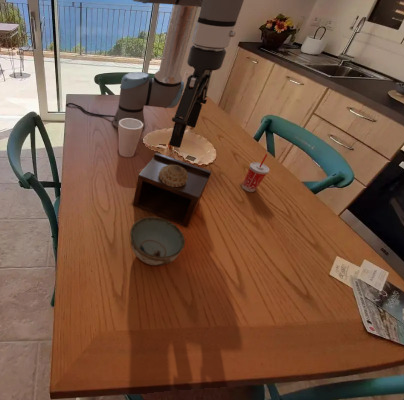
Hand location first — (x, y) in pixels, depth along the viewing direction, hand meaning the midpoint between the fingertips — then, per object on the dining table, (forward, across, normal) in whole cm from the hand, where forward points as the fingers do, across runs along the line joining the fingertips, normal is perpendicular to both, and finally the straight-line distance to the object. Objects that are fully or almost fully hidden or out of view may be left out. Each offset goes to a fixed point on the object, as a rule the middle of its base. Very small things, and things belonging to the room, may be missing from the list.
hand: (182, 135), depth 72 cm
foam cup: (+25, +20, +24) cm, 40 cm away
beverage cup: (+25, +26, -23) cm, 42 cm away
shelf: (+24, 0, -1) cm, 24 cm away
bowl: (+24, -22, -5) cm, 34 cm away
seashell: (+13, -2, -1) cm, 13 cm away
